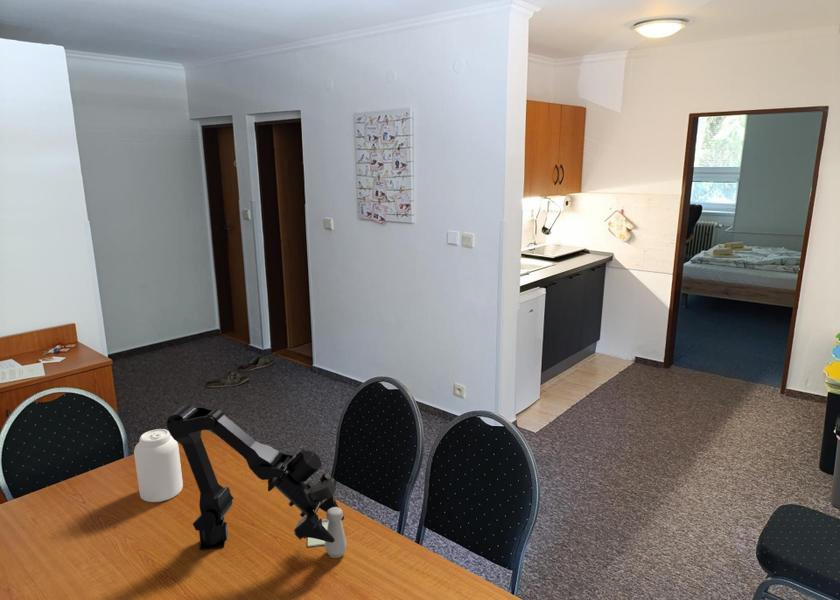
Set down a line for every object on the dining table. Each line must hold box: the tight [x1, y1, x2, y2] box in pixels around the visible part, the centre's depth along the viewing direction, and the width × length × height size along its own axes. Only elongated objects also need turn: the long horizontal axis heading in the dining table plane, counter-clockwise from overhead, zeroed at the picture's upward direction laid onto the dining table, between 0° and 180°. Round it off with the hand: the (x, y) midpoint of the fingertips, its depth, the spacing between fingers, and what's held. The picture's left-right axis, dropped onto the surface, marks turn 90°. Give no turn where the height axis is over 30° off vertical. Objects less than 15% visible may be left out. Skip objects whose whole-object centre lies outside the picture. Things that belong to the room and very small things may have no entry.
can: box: [133, 428, 184, 503], centre depth 178 cm, size 12×12×20 cm
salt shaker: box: [324, 506, 348, 559], centre depth 151 cm, size 6×6×13 cm
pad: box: [307, 518, 328, 548], centre depth 161 cm, size 9×11×1 cm
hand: (338, 530), depth 151 cm, fingers open, 9 cm apart
